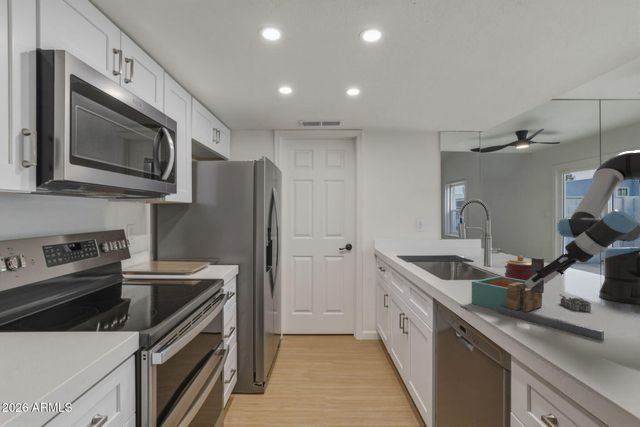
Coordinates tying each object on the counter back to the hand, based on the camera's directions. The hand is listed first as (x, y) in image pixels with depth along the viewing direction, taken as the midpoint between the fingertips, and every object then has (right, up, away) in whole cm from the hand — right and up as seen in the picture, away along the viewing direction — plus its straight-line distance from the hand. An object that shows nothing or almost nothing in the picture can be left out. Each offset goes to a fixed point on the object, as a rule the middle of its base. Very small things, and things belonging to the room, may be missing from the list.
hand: (534, 283), depth 118 cm
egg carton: (+20, -11, +5) cm, 24 cm away
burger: (-6, -11, +8) cm, 15 cm away
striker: (-3, -10, -2) cm, 11 cm away
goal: (-6, -10, +8) cm, 15 cm away
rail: (-7, -10, -15) cm, 19 cm away
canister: (+12, -11, +28) cm, 32 cm away
